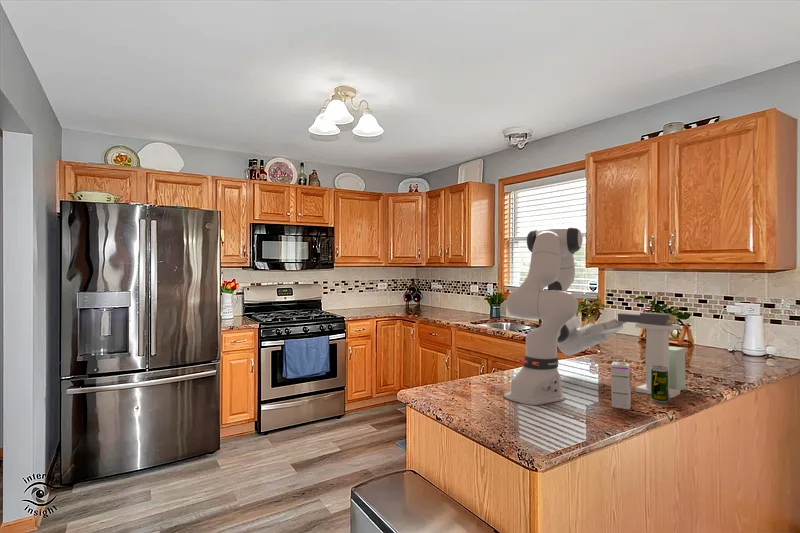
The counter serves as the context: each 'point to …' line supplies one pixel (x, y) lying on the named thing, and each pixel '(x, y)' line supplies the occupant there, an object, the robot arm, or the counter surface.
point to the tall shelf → (656, 352)
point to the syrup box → (620, 385)
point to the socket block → (676, 368)
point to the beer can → (659, 384)
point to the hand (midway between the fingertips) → (621, 320)
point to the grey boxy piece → (648, 318)
